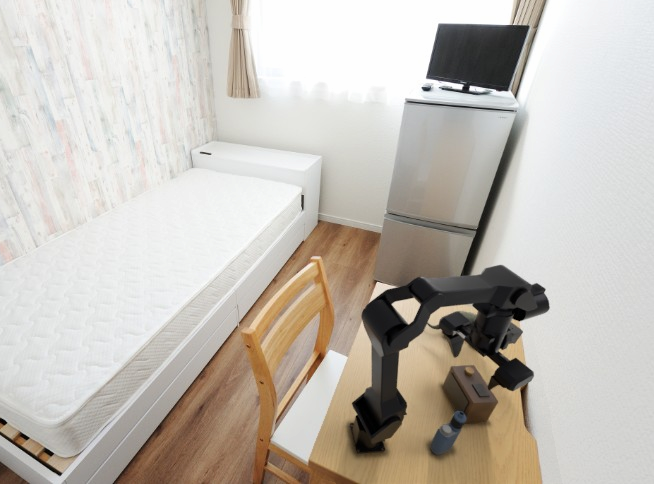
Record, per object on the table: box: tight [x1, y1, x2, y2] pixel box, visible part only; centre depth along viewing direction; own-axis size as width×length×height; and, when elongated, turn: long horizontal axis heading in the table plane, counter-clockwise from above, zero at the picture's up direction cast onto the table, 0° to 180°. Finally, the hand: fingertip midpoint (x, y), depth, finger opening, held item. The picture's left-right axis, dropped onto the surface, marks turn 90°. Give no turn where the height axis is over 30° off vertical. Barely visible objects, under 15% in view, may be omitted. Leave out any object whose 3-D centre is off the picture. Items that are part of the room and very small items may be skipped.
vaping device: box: [430, 410, 466, 456], centre depth 74 cm, size 3×5×12 cm, turn 112°
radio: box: [442, 364, 499, 424], centre depth 84 cm, size 6×10×9 cm, turn 4°
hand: (472, 372), depth 78 cm, fingers open, 9 cm apart
